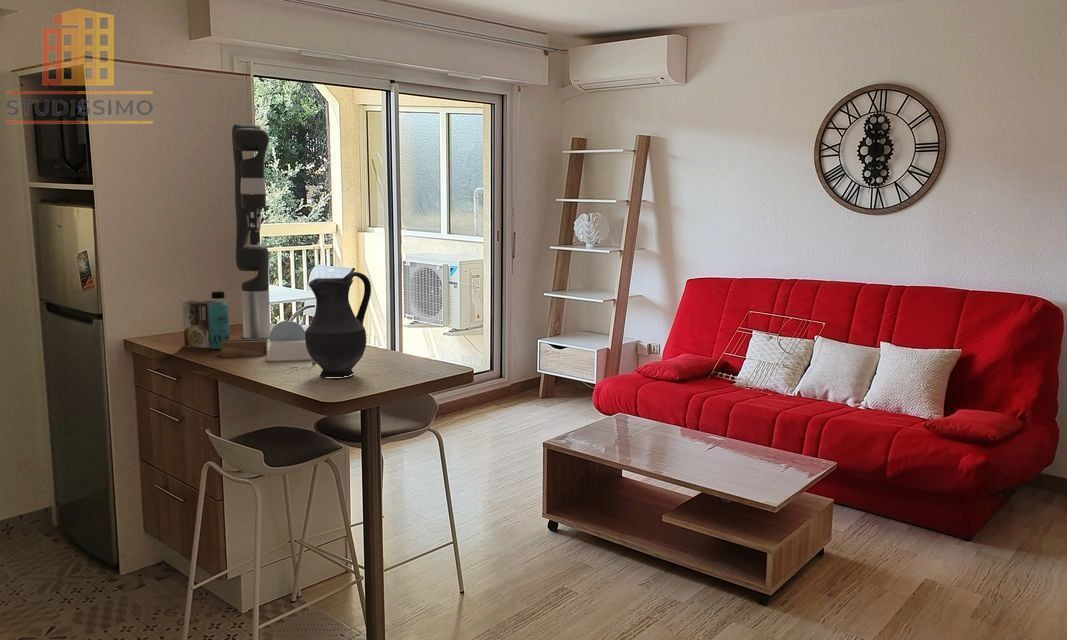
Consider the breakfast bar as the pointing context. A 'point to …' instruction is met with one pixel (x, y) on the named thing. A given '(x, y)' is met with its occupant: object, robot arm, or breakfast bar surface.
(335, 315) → the pitcher
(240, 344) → the stand
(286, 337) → the plate
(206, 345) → the coffee box
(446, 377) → the breakfast bar surface
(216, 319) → the beverage bottle
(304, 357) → the rack
